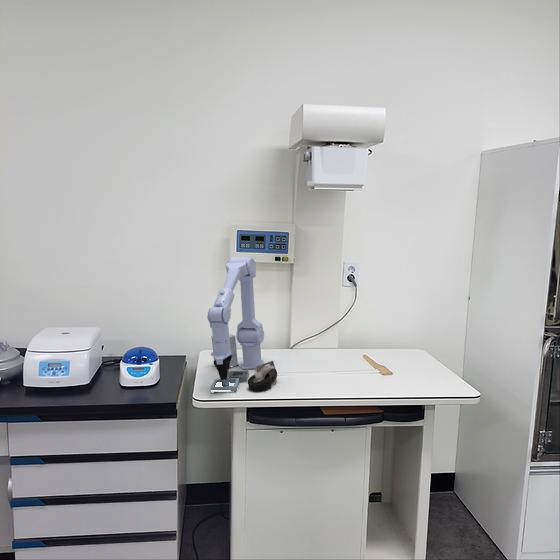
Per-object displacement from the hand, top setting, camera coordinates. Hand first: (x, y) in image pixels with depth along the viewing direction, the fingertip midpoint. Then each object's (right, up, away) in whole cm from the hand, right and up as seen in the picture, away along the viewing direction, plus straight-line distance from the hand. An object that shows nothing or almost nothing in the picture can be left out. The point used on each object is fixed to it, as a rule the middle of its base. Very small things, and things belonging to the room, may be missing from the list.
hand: (224, 377), depth 176 cm
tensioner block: (+4, -2, +9) cm, 10 cm away
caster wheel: (+14, -3, -1) cm, 14 cm away
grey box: (-2, 0, +25) cm, 26 cm away
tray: (0, -4, +1) cm, 4 cm away
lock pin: (0, -3, +1) cm, 3 cm away
